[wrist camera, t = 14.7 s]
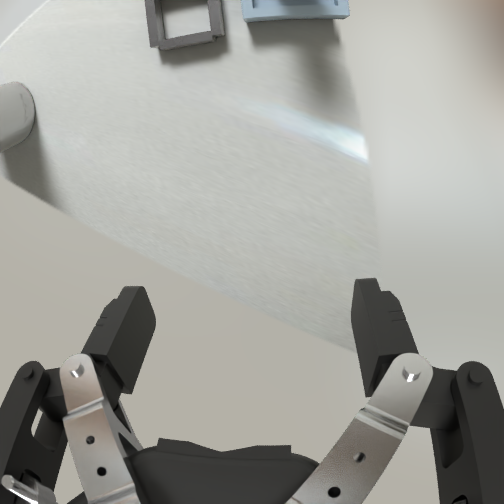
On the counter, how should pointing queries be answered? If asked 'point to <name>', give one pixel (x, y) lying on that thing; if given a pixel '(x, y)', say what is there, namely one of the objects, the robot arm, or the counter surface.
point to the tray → (294, 9)
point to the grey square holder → (159, 39)
